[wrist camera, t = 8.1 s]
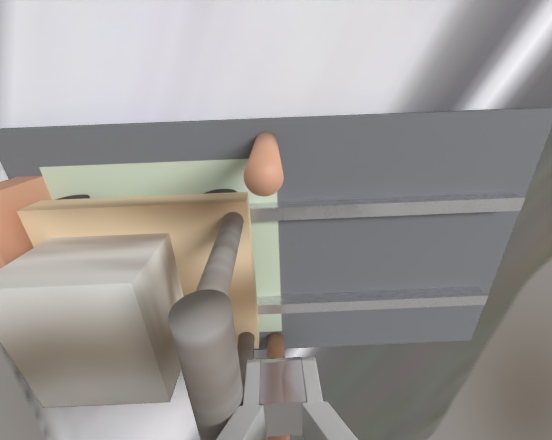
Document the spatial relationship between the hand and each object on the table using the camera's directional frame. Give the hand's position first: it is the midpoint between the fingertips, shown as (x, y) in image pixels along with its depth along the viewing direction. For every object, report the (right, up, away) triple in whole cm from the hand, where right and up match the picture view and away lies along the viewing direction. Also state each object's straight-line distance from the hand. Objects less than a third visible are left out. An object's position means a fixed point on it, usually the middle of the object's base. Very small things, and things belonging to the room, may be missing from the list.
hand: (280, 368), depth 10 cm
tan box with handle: (-7, +3, +7) cm, 10 cm away
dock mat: (0, +4, +8) cm, 9 cm away
